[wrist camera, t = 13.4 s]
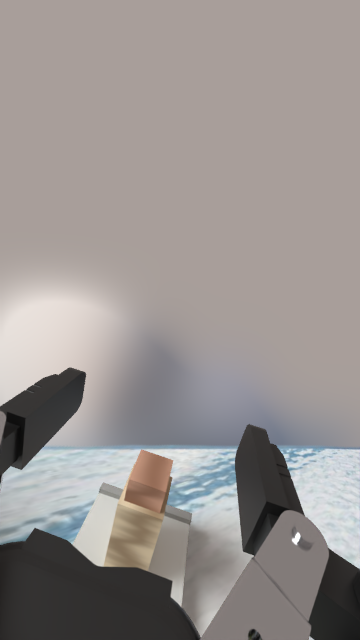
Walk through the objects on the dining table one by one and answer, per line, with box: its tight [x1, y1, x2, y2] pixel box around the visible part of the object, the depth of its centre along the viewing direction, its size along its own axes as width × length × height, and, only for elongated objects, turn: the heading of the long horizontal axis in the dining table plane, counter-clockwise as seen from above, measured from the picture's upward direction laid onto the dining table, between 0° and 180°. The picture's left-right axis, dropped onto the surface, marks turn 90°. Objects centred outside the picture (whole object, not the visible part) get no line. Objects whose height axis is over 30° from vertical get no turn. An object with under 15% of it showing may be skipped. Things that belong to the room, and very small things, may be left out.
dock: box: [72, 483, 192, 607], centre depth 29 cm, size 14×12×4 cm
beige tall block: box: [103, 450, 173, 571], centre depth 27 cm, size 5×5×13 cm
